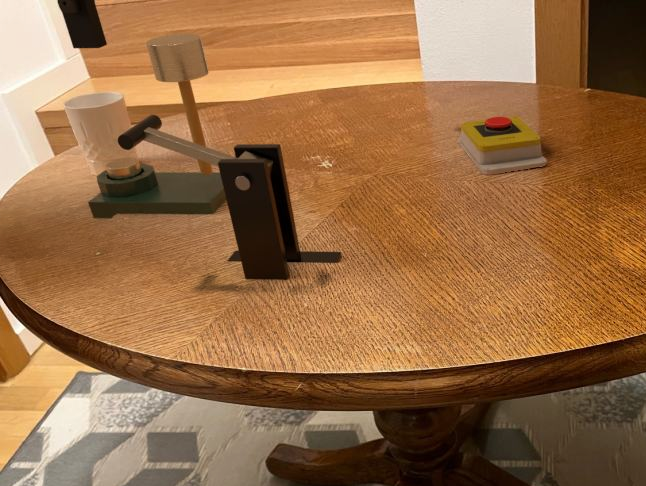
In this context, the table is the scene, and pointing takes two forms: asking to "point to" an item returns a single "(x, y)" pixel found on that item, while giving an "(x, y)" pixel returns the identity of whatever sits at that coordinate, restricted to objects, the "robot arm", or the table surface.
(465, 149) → the emergency button
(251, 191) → the brown bracket stand
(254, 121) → the table surface
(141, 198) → the lamp base
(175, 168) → the table surface
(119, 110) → the white cup
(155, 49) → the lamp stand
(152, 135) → the lever
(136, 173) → the lamp button
